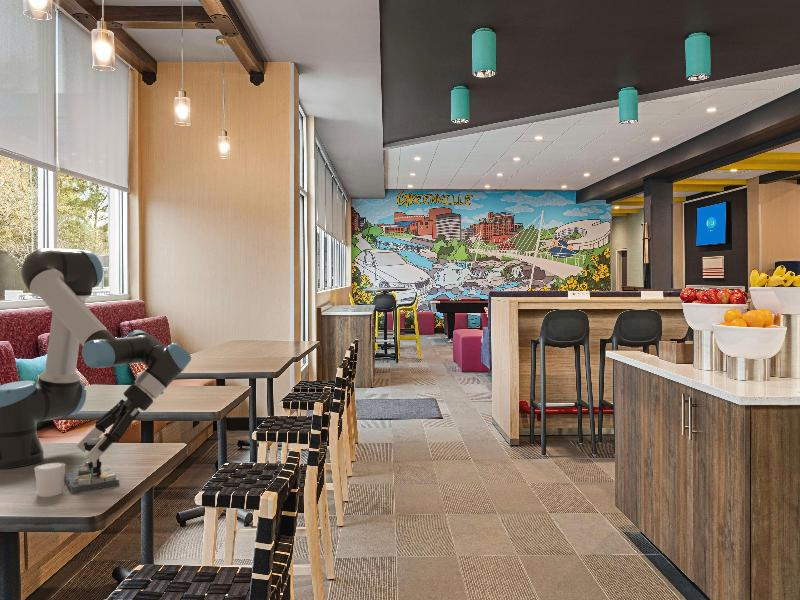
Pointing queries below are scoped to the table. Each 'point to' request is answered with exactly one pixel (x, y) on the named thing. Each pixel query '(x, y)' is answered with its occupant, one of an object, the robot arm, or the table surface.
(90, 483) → the carrier plate
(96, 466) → the push button
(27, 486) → the table surface
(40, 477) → the white tapered cup
